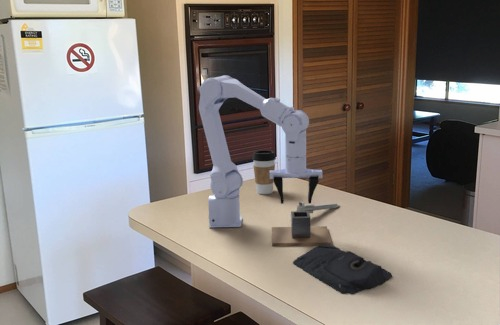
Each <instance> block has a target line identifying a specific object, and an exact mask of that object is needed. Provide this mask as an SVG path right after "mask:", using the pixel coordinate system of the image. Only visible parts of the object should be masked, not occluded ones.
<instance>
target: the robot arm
mask: <svg viewBox="0 0 500 325" xmlns="http://www.w3.org/2000/svg"><path fill="white" fill-rule="evenodd" d="M198 90H199V95H200V96H199V103H198V111H199V115H200V119H201V123H202V127H203V130H204V131H203V132H204V134H205V138H206V143H207V147H208V150H209V155H210V157H211V162H212V165H213V166H212V170H211V171H210V175H209V176H210V187H209V188H210V190H211V193H212V194H211V195H209V196H208V204H207V206H208V222H209V226H208V227H209V228H241V227H242V222H243V216H241V204H240V189H241V188H242V186H243V183H244V179H243V176H242V174H241V173H240V172H239V170H238V169H239V168H238V166H237V165H236V164H235V163H234V162H233V161H232V159H231V155H230V151H229V148H228V144H227V143H228V142H227V139H226V136H225V132H224V127H223V124H222V120H221V115H220V111H219V110H220V108H221V106H222V105H223V104H224V102H225V101H226V100H228V99H229V98H233V99H234V98H236V99H237V100H241V101H242V102H244V103H246V104H248V105H250V106H252V107H253V108H256V109H258V110H259V111H260V114H261V116H262V117H263V118H265V119H267V120H268V121H271V122H272V123H274V124H276V125H277V126H279V127H281V128H282V131H283V132H284V135H285V138H284V140H285V141H284V142H285V143H284V147H285V148H284V150H285V151H284V153H285V154H284V155H285V157H284V159H285V164H284V165H285V168H283V169H275V170H270V179H274V182H273V185H275V186H274V187H275V188H276V191H277V192H278V195H279V199H280V205H281V204H282V205H283V204H284V189H283V188H284V187H283V186H284V185H283V184H284V183H283V181H284V180H283V179H301V178H302V179H303V178H304V179H306V178H307V179H308V192H307V194H308V195H307V203H308V204H312V200H313V195H314V192H315V190H316V188H317V186H318V184H319V181H320V180H319V179H323V170H322V169H311V168H307V129H308V127H309V125H310V118H309V116H308V114H306V112H304V111H303V110H301V109H297V110H295V107H293V106H287V105H286V104H284V103H282V102H281V99H280V98H278V97H269V98H265V97H264V96H262V95H261V94H258V93H257V91H256V92H255V91H254V90H252V89H251V88H249V87H247V86H246V85H244V84H243V83H242V82H241V81H239V80H238V79H236V78H233V77H231V76H230V75H225V74H224V75H221V76H216V77H209V78H205V80H204V81H203V82H202V83H201V85H200V87H199V88H198Z"/></svg>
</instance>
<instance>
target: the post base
mask: <svg viewBox="0 0 500 325" xmlns="http://www.w3.org/2000/svg"><path fill="white" fill-rule="evenodd" d="M327 244H330V245H332V240H331V236H330V233H329V230H328V226H327V225H325V226H310V238H292V234H291V226H272V227H271V247H301V246H302V247H310V246H311V247H312V246H314V247H316V246H319V245H327Z"/></svg>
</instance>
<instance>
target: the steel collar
mask: <svg viewBox="0 0 500 325" xmlns="http://www.w3.org/2000/svg"><path fill="white" fill-rule="evenodd" d="M290 227H291V234H292V238H310V227H311V213H309V211H297V210H295V211H290Z"/></svg>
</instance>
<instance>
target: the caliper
mask: <svg viewBox="0 0 500 325" xmlns="http://www.w3.org/2000/svg"><path fill="white" fill-rule="evenodd" d="M338 207H340V204H338V203H335V202H332V203H321V204H312V203H308V204H305V201H301V202H300V201H299V202H298V205H297V207H296V211H309V214H314V211H321V210H330V209H336V208H338Z"/></svg>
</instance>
